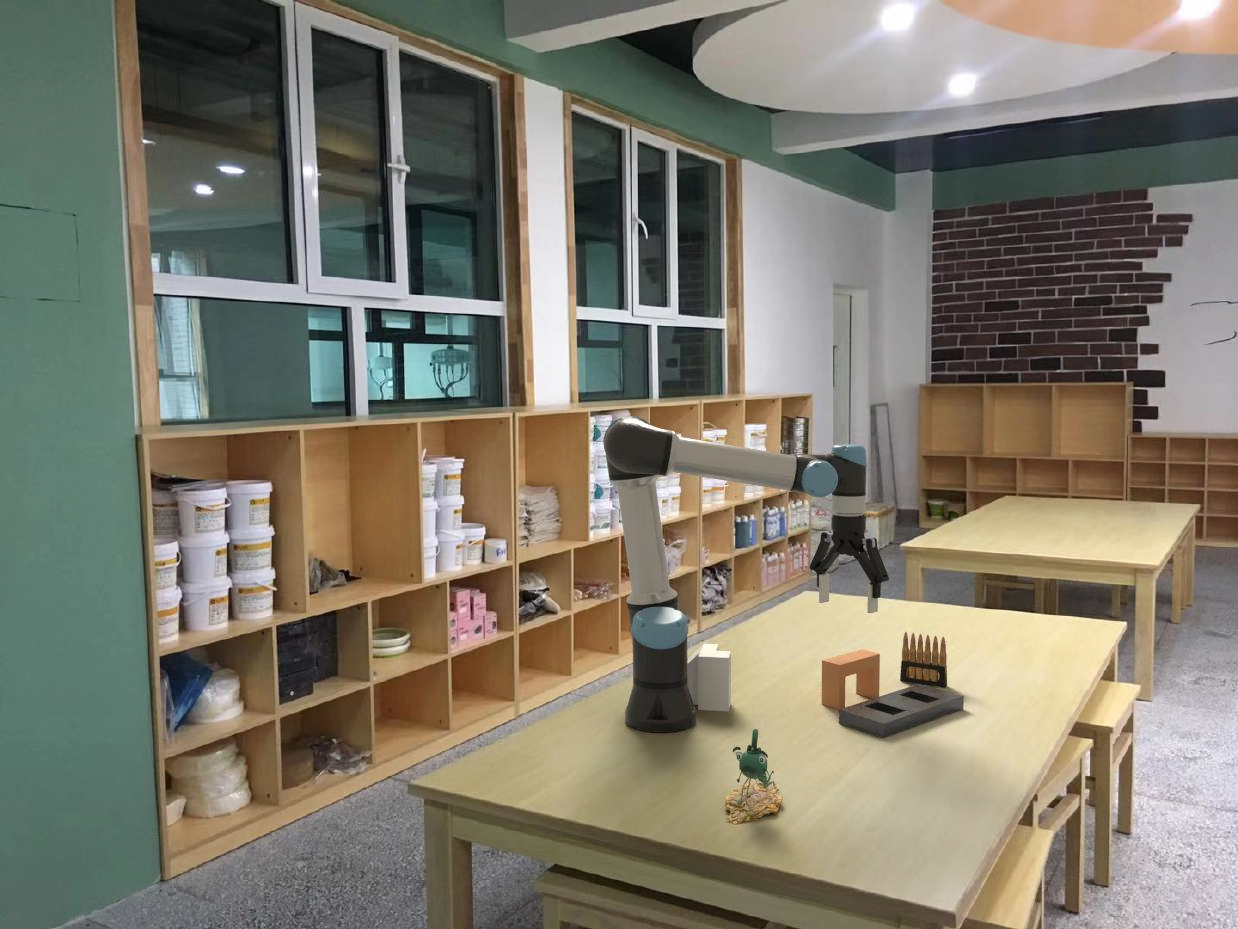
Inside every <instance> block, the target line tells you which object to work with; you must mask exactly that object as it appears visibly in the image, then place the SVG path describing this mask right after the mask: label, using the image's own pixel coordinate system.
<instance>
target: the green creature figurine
mask: <svg viewBox="0 0 1238 929" xmlns="http://www.w3.org/2000/svg"><path fill="white" fill-rule="evenodd" d="M751 734H752V735H751V744H748V745H747V748H746V750H745V751H744V752H743V753H742V752H741V750H742V748H741V747H740V746H735V747H733V749H732V753H735V757H736V760H737V761H738V762H739V763H738V764H739V765H738V769H739V770H740V774H739V777H738V778H737V779H736V782H737V783H740V781H741V777H742V775H743V776H744V777H746V780H745V782H744V783H743V785H741V786H739V787H738V788H736V789H733V791H732V792H731V793H729V794H728V795H727V796H725V798H724V800H725V801H724V804H725V805H724V810H725V811H730V812H729V815H728V816H727V817H726V822H728V823H729V822H730V823H732V824H734V825H739V824H742V823H743V822H750V821H752V822H753V821H758V820H759V819H760V818H762V817H763V816H764V815H769V814H770V813H771V814H775V813H778V810H779V808H780V805H781V804H782V802H783V800H784V798H783V795H780V794H781V793H780V792H781V791H780V789H779V788H778V787H777V782H776V781H775V780H773V781H772V774H774V773H775V771H774V770H771V773H770V774H769V772H768V759H767V758H769V756H768V754H767V752H766V751H765V750H762V748H761V747H758V738H759V729H757V728H754V729H753V730H752V732H751ZM767 775H768V776H767ZM751 780H755V783H753V784H752V785H751Z"/></svg>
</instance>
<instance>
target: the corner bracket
mask: <svg viewBox="0 0 1238 929" xmlns="http://www.w3.org/2000/svg"><path fill="white" fill-rule="evenodd" d="M687 669H688V676H687V679H688V689H689V692H690V695H691V698H692V701H693V705H696V706H697V705H698V706H697V710H699V711H712V712H713V711H718V712H729V711H730V707H731V705H732V685H731V684H732V651H729V650H720V649H719V643H717V644H715V643H714V644H713V643H703V644H702V645H701V646H700V647H699V648H698V649H696V651H694V653H692V655H690V656H689V657H687Z"/></svg>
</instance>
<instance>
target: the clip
mask: <svg viewBox="0 0 1238 929" xmlns="http://www.w3.org/2000/svg"><path fill="white" fill-rule="evenodd" d="M880 662H881V654H880V653H878V652H874V651H870V650H866V649H863V648H862V649H859V650H854V651H850V652H847V653H843V654H841V655H840V654H839V655H836V656H832V657H829V658H826V659H822V660H821V705H825V706H827V707H829V708H832V709H836V710H839V709H842V708H845V707H846V677H849V676H853V675H856V676H855V679H856V681H855V694H857V695H861V696H864V697H868V698H870V699H873V698H876V697H879V696H880V675H881V672H880V670H881V667H880V666H881V664H880Z"/></svg>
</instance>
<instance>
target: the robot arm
mask: <svg viewBox="0 0 1238 929" xmlns="http://www.w3.org/2000/svg"><path fill="white" fill-rule="evenodd" d="M603 448H604V449H603V450H604V452H605V458H606V459H605V460H606V466H607V467H606V468H607V472H608V480H609V482H610V483H611V484H612V485H614V486H615V487H616V490H617V494H618V502H619V509H620V516H621V523H622V524H621V525H622V531H623V537H624V544H625V545H624V546H625V551H626V558H627V560H626V561H627V566H628V574H629V579H630V580H629V581H630V587H631V591H630V592H631V593H630V594H629V595H628V596H627V598H626V600H625V601H626V606H627V607H626V608H627V615H628V621H629V622H628V624H629V625H628V626H629V633H630V636H631V643H632V644H631V645H632V689H631V691H630V695H629V699H628V703H627V705H626V707H625V709H624V710H625V711H624V717H625V718H624V721H625V724H626V725H627V726H629V727H630V728H633V729H634V730H635V729H636V730H639V731H643V732H650V733H671V732H673V733H675V732H678V731H684V730H685V729H687V730H688V729H689V728H691V727H693V726H694V725H695V724H696V722H697V712H696V708H695V706H694V704H693V701H692V698H691V695H690V692H689V689H688V679H687V676H688V669H687V659H688V635H689V624H688V619H687V616H686V615H685V614H684V613H683V611H681V610H680V602H679V596H678V592H677V591H676V589H673V587H671V586H670V580H669V570H668V565H667V559H666V558H667V557H666V551H665V543H664V542H665V541H664V536H663V529H662V520H661V514H660V506H659V500H658V492H657V483H656V482H657V480H658V479H659V477H660V476H663V477H667V476H669V475H670V474H672V473H674V474H680V475H686V476H687V475H688V476H695V477H700V478H707V479H714V480H720V481H726V482H732V483H738V484H743V485H744V484H746V485H752V486H757V487H764V488H771V489H777V490H783V491H788V492H789V491H790V492H792V493H799V494H800V493H801V494H807V495H810V496H811V497H814V498H815V497H816V498H825V497H827V496H829V495H831V508H830V509H831V513H833V514H832V515H831V531H830V530H829V531H822V532H821V534H820V540H819V541H820V542H819V543H818V546H817V548H816V551H815V552H814V555H813V558H812V559H811V562H810V564H809V569H810V570H811V571H814V572H815V573H816V587H817V588H818V603H820V604H824V603H828V602H830V573H828V570H829V569H830V568H831V566H832V565H833V564H834V562H836V560H837V559H838V557H839V556H840V555H841V556H843V555H846V556H849V557H853V558H854V559H855V560H857V562H858V564H859V565H860V567H861V569H862V570H863V571H864V574H865V575H866V577H867V578H868V580H869V581H870V582H869V583H867V611H866V612H867V613H868V614H874V613H878V612H879V605H878V604H879V599H880V598H881V593H882V592H881V591H882V584H883V583H884V582H888V581H889V580H890V576H889V574H888V572H887V569H886V567H885V564H884V562H883V559H882V556H881V553H880V550H879V548H878V540H877V537H871V538H870V537H869V538H866V536H865V531H866V530H867V527H866V526H867V516H866V515H865V514H864V513H866V511H867V510H866V509H867V506H866V505H867V491H866V490H867V467H868V465H867V450H866V448H865V446H864V445H860V444H850V443H849V444H845V443H844V444H834V445H833V446H832V447H831V452H830V453H827V454H826V453H825V454H799V453H798V454H796V453H791V454H785V453H779V452H773V451H768V450H762V449H755V448H750V447H743V446H736V445H731V444H726V443H720V442H719V443H718V442H713V441H706V440H700V439H694V438H688V437H681V436H678V435H677V433H676V432H675V431H674V430H669V429H663V428H659V427H657V426H654V425H652V424H650V423H649V422H648V421H647V420H645V419H644V418H641V417H639V416H636V415H632V416H631V415H630V416H628V415H626V416H624V417H619V418H618V419H615V420H614V421H613V422H612V423H610V425H608V427H607V429H606V430H605V433H604V435H603ZM832 543H833V545H832V547H831V548H830V545H831V544H832ZM829 548H830V549H829ZM828 550H829V552H828ZM827 553H828V554H827Z"/></svg>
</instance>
